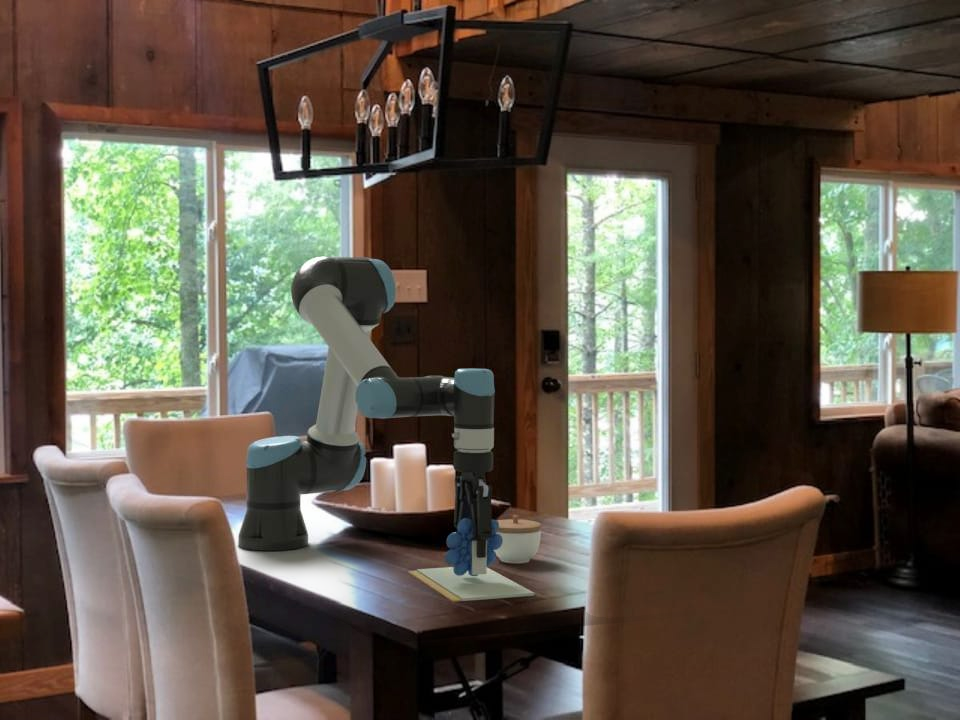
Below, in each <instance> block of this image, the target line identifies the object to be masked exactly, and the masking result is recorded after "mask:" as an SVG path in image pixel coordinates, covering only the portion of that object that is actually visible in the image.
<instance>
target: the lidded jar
mask: <svg viewBox="0 0 960 720" xmlns="http://www.w3.org/2000/svg"><path fill="white" fill-rule="evenodd" d="M496 521H498V523H499V530H498V531H497V533H496V534H499V535H501V536H502V539H503V542H502V545H501V547H500V548H498V549H497V550H493V551H495V553H496V557H497V558H499V560H500V562H502V563H507V564H525V563H529V562H530V561H531V559H532V558H533V557H534V556H535V555H536V553H537V552H538V550H539V547H540V543H541V536H542V535H541V534H542V533H541V532H542V531H541V530H542V524H541V522H539V521H535V520H529V519H519V516H518V515H515V514H514V515H512V518H511V519H509V518H508V519H498V520H496Z"/></svg>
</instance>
